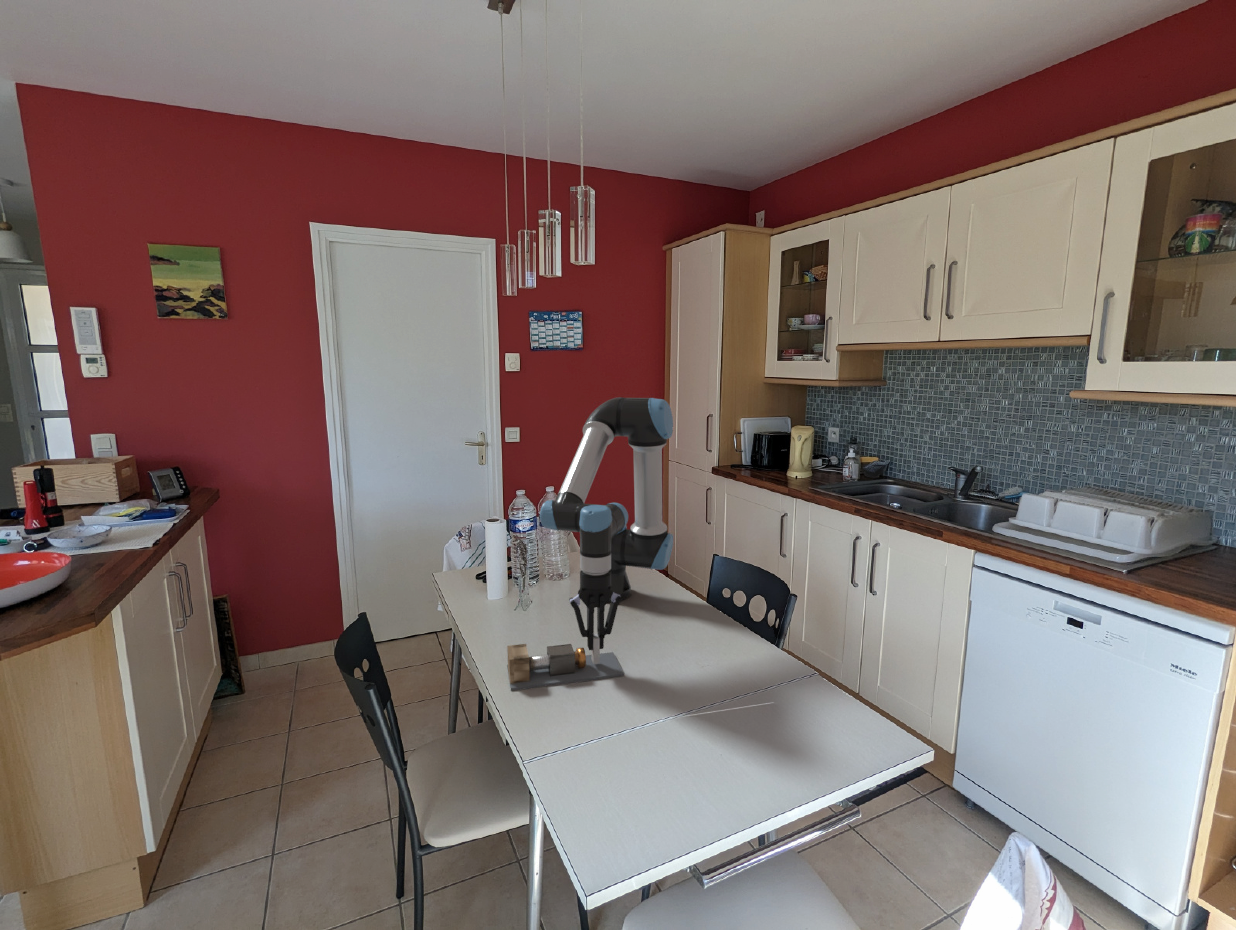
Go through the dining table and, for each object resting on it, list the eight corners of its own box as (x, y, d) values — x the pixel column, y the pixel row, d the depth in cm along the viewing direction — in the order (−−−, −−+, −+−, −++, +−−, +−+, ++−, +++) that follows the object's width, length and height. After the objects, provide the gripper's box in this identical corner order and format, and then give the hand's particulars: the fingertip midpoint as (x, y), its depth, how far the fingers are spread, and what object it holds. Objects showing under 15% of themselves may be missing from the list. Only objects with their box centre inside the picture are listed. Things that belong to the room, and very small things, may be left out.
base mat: (613, 654, 152) (613, 652, 152) (624, 675, 142) (624, 673, 142) (507, 666, 145) (507, 664, 145) (510, 690, 135) (510, 688, 135)
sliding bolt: (582, 661, 147) (582, 644, 146) (585, 670, 142) (585, 652, 142) (515, 669, 143) (515, 651, 142) (517, 679, 138) (517, 661, 137)
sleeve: (571, 662, 146) (571, 643, 145) (575, 673, 141) (574, 653, 141) (547, 665, 145) (546, 646, 144) (550, 676, 140) (549, 656, 139)
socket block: (526, 666, 144) (525, 643, 143) (529, 681, 138) (529, 657, 137) (507, 668, 143) (507, 645, 142) (510, 683, 137) (509, 659, 136)
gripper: (618, 562, 146) (617, 650, 150) (566, 566, 143) (566, 656, 147) (625, 573, 139) (624, 665, 143) (571, 577, 136) (571, 671, 140)
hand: (595, 660), depth 145 cm, fingers closed
